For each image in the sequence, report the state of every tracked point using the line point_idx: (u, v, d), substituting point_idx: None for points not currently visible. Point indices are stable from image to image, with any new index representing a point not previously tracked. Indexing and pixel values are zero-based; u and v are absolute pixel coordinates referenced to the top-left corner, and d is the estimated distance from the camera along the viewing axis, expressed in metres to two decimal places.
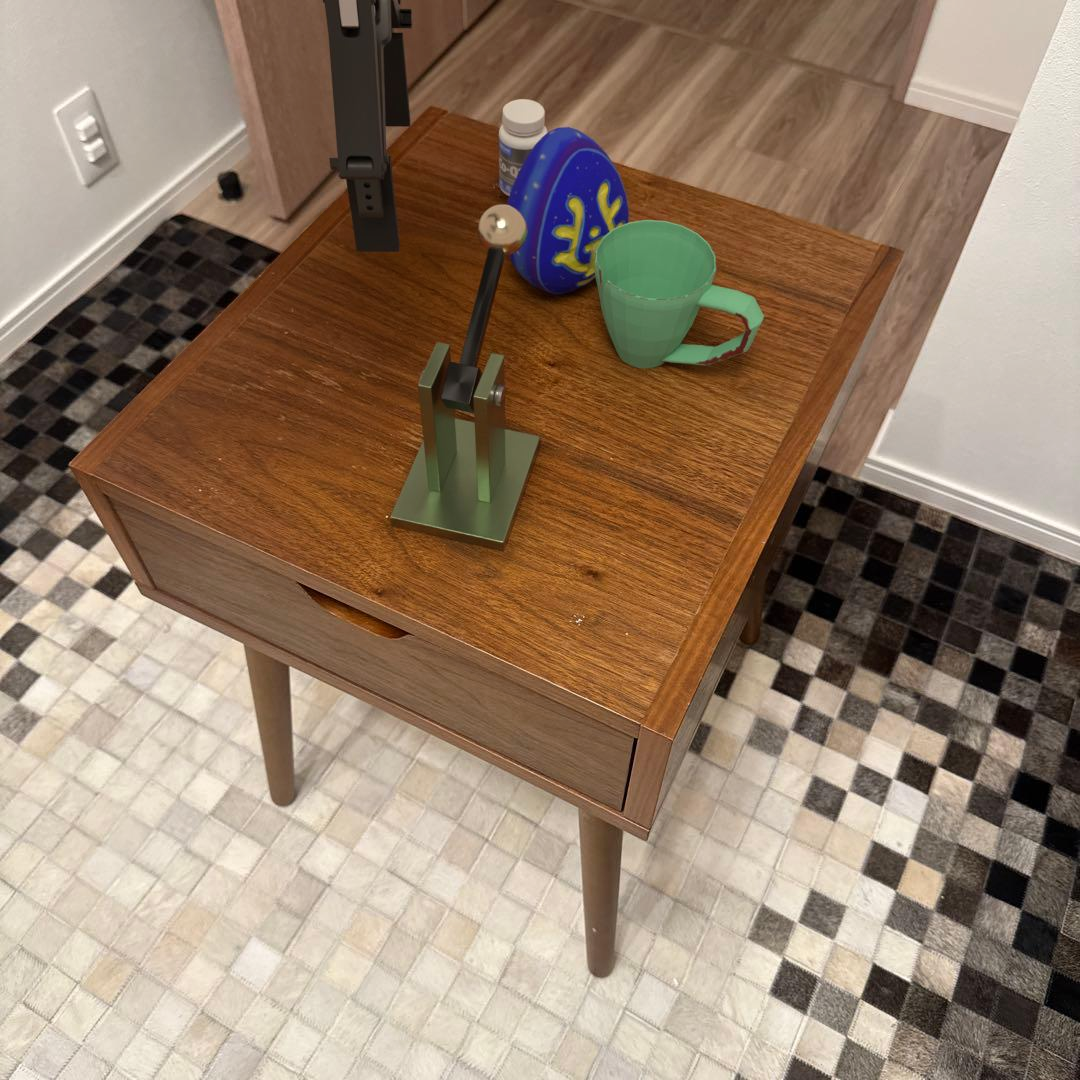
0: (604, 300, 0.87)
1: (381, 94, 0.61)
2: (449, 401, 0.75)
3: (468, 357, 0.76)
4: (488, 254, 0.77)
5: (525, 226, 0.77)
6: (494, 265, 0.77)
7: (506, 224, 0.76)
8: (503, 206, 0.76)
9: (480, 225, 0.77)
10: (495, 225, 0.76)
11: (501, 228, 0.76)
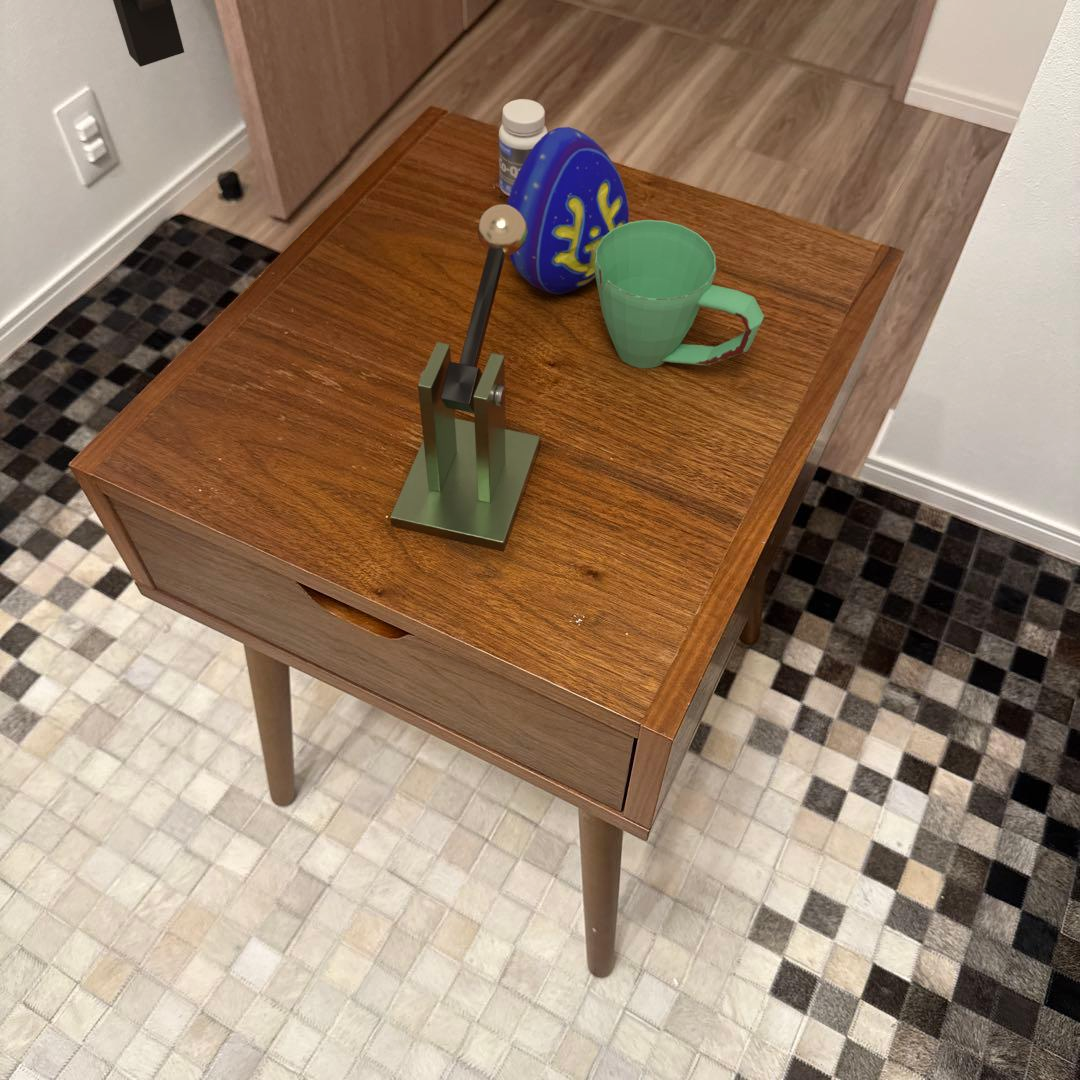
0: (604, 300, 0.87)
1: None
2: (449, 401, 0.75)
3: (468, 357, 0.76)
4: (488, 254, 0.77)
5: (525, 226, 0.77)
6: (494, 265, 0.77)
7: (506, 224, 0.76)
8: (503, 206, 0.76)
9: (480, 225, 0.77)
10: (495, 225, 0.76)
11: (501, 228, 0.76)
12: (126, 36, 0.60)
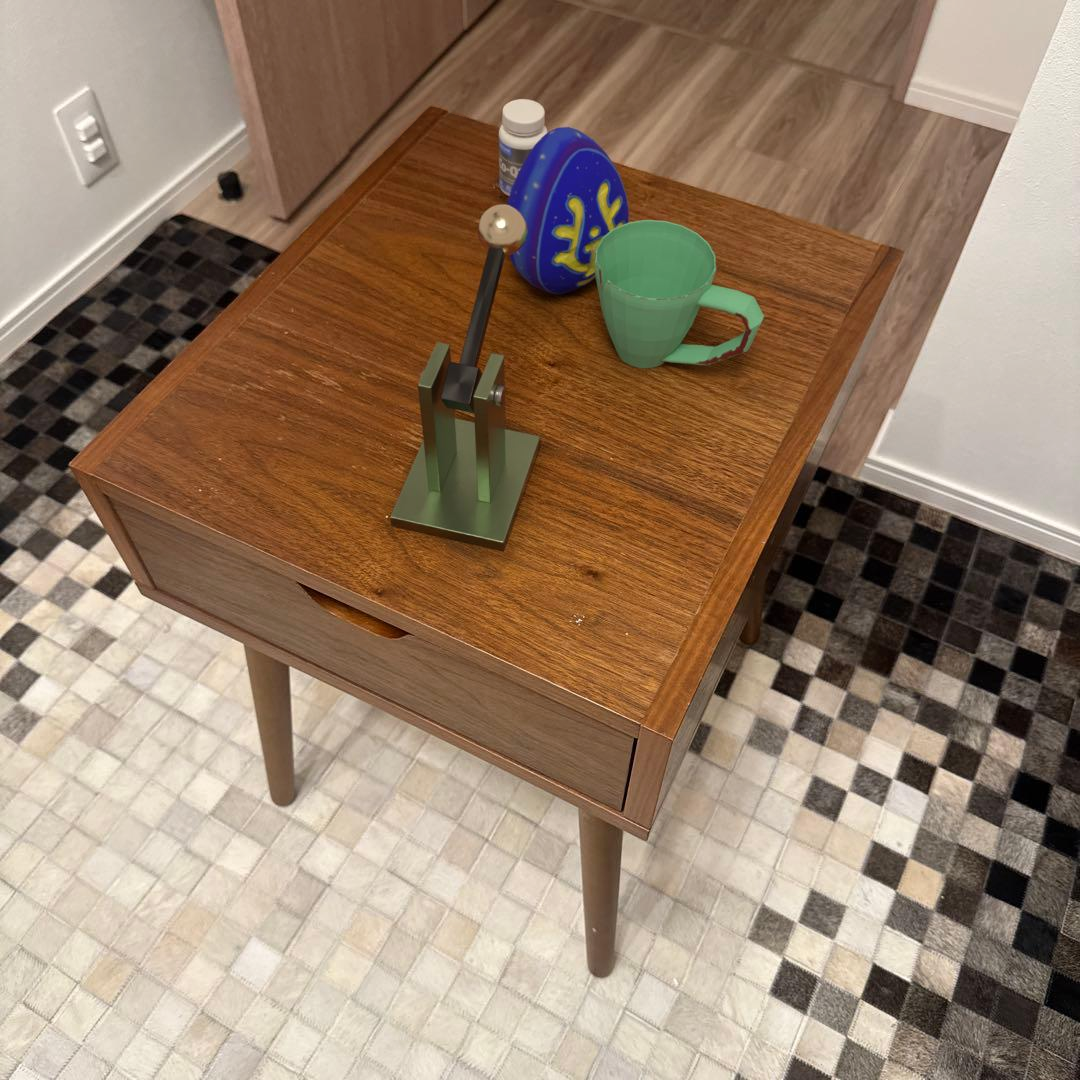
0: (604, 300, 0.87)
1: None
2: (449, 401, 0.75)
3: (468, 357, 0.76)
4: (488, 254, 0.77)
5: (525, 226, 0.77)
6: (494, 265, 0.77)
7: (506, 224, 0.76)
8: (503, 206, 0.76)
9: (480, 225, 0.77)
10: (495, 225, 0.76)
11: (501, 228, 0.76)
12: None
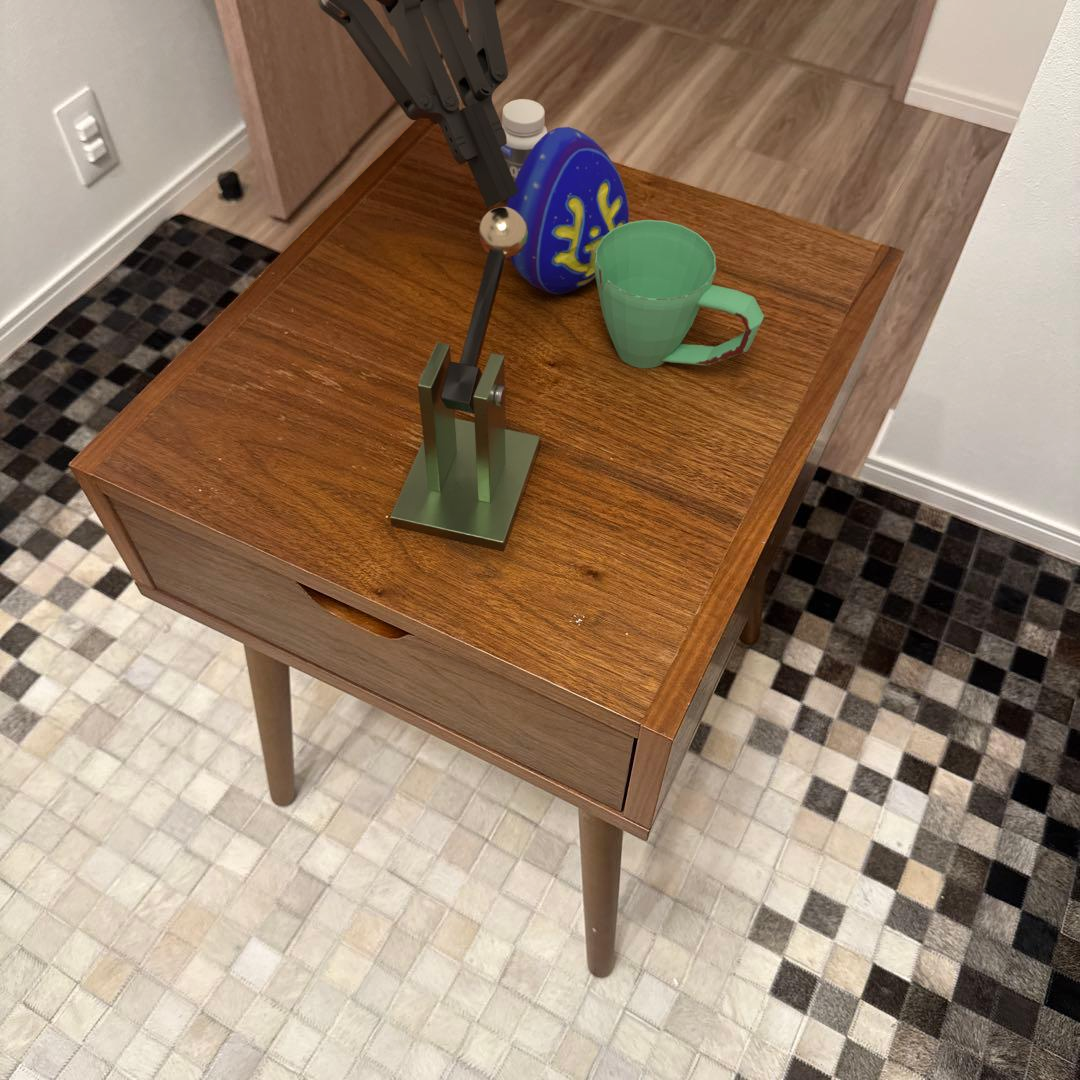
0: (604, 300, 0.87)
1: None
2: (449, 400, 0.75)
3: (468, 357, 0.76)
4: (489, 256, 0.77)
5: (526, 228, 0.77)
6: (494, 266, 0.77)
7: (507, 225, 0.76)
8: (504, 208, 0.77)
9: (481, 227, 0.77)
10: (496, 227, 0.76)
11: (502, 230, 0.76)
12: (500, 178, 0.75)
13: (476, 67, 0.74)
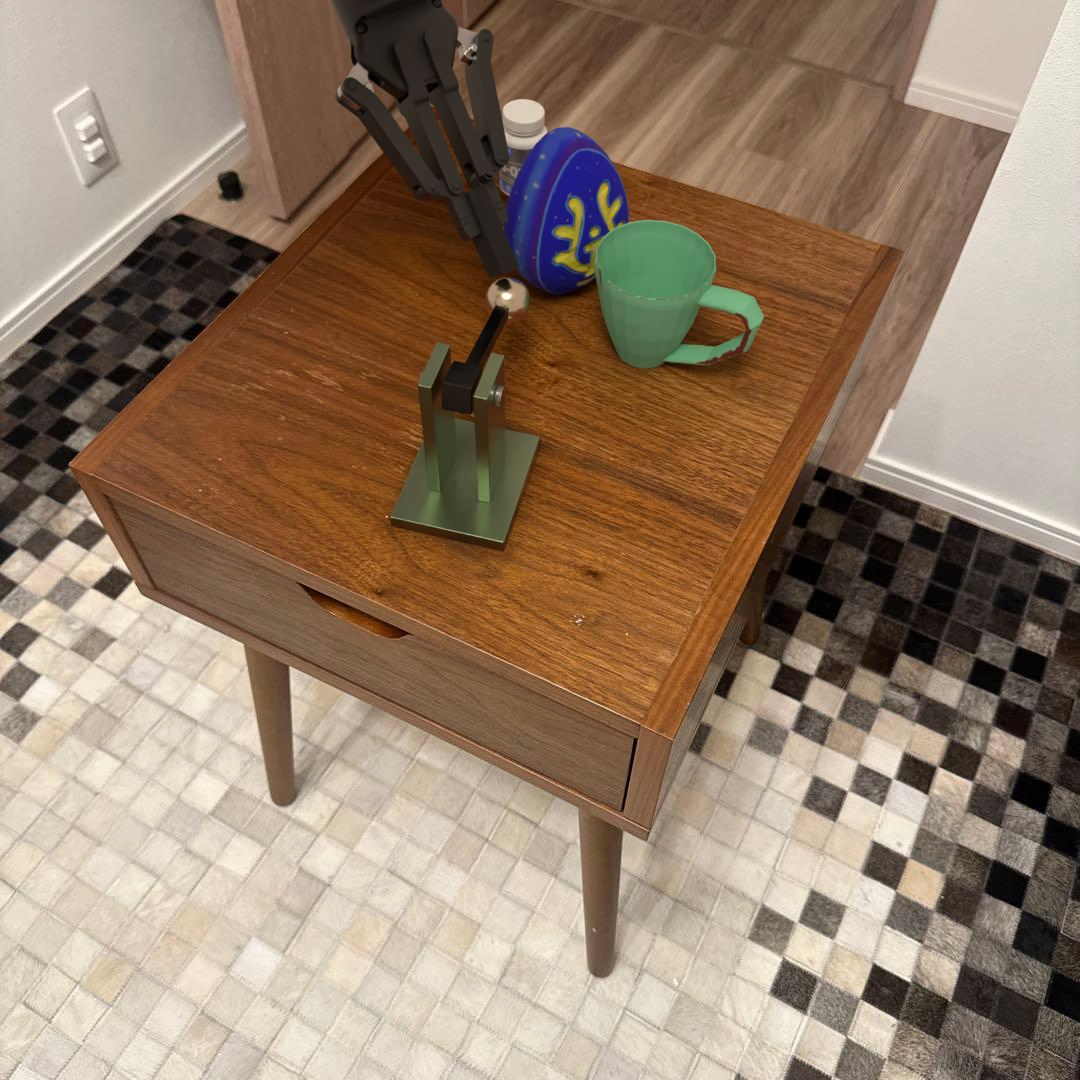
0: (604, 300, 0.87)
1: None
2: (450, 386, 0.75)
3: None
4: (494, 308, 0.83)
5: (529, 297, 0.84)
6: (500, 314, 0.82)
7: (514, 284, 0.83)
8: None
9: (489, 288, 0.84)
10: (505, 284, 0.83)
11: (510, 286, 0.83)
12: (501, 254, 0.81)
13: (480, 153, 0.80)
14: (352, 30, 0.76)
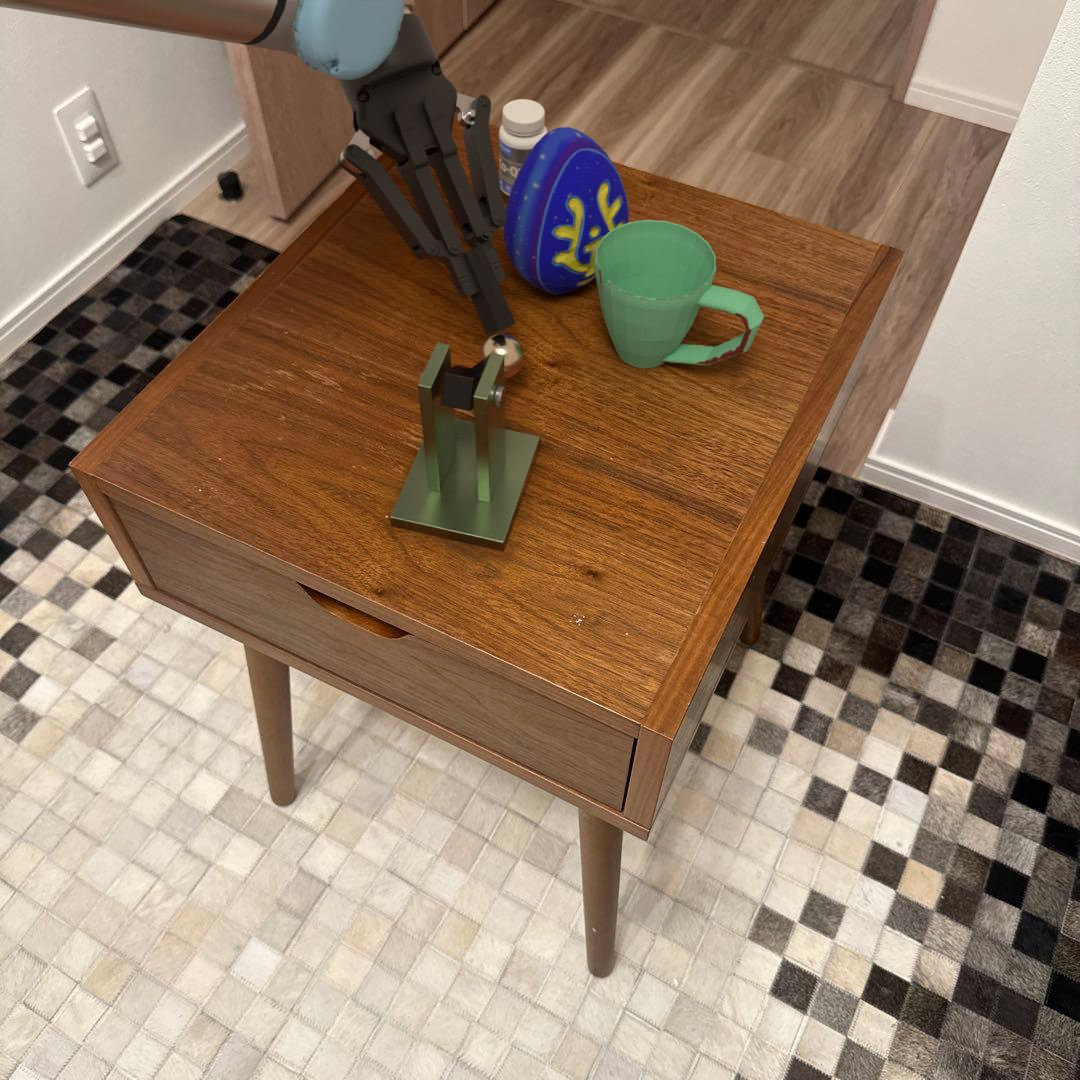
0: (604, 300, 0.87)
1: None
2: (453, 377, 0.75)
3: None
4: None
5: None
6: None
7: (511, 337, 0.86)
8: None
9: (486, 340, 0.87)
10: (502, 335, 0.86)
11: (506, 337, 0.86)
12: (498, 312, 0.84)
13: (478, 214, 0.83)
14: (354, 98, 0.79)
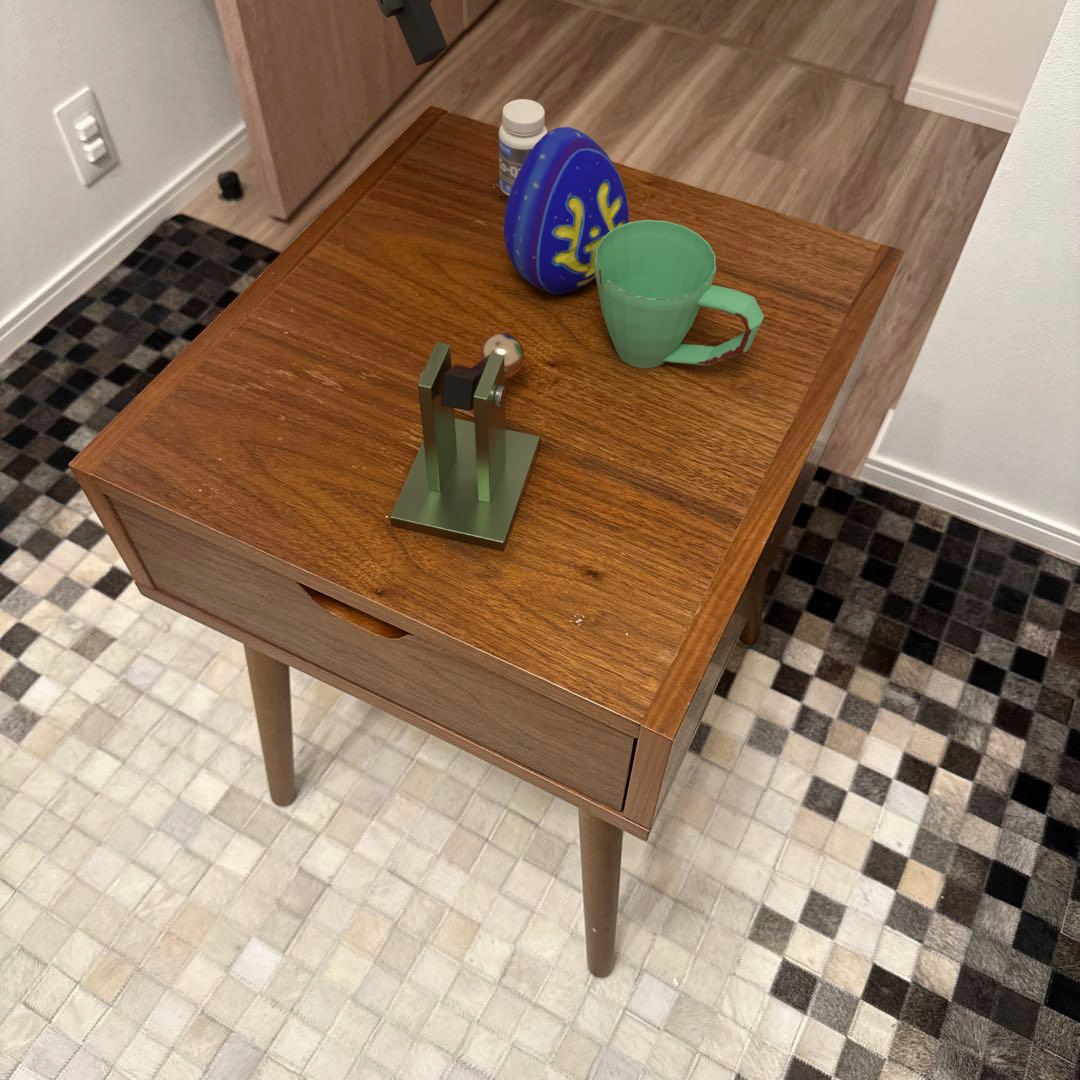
0: (604, 300, 0.87)
1: None
2: (453, 377, 0.75)
3: None
4: None
5: None
6: None
7: (511, 337, 0.86)
8: None
9: (486, 340, 0.87)
10: (502, 335, 0.86)
11: (506, 338, 0.86)
12: (427, 30, 0.72)
13: None
14: None
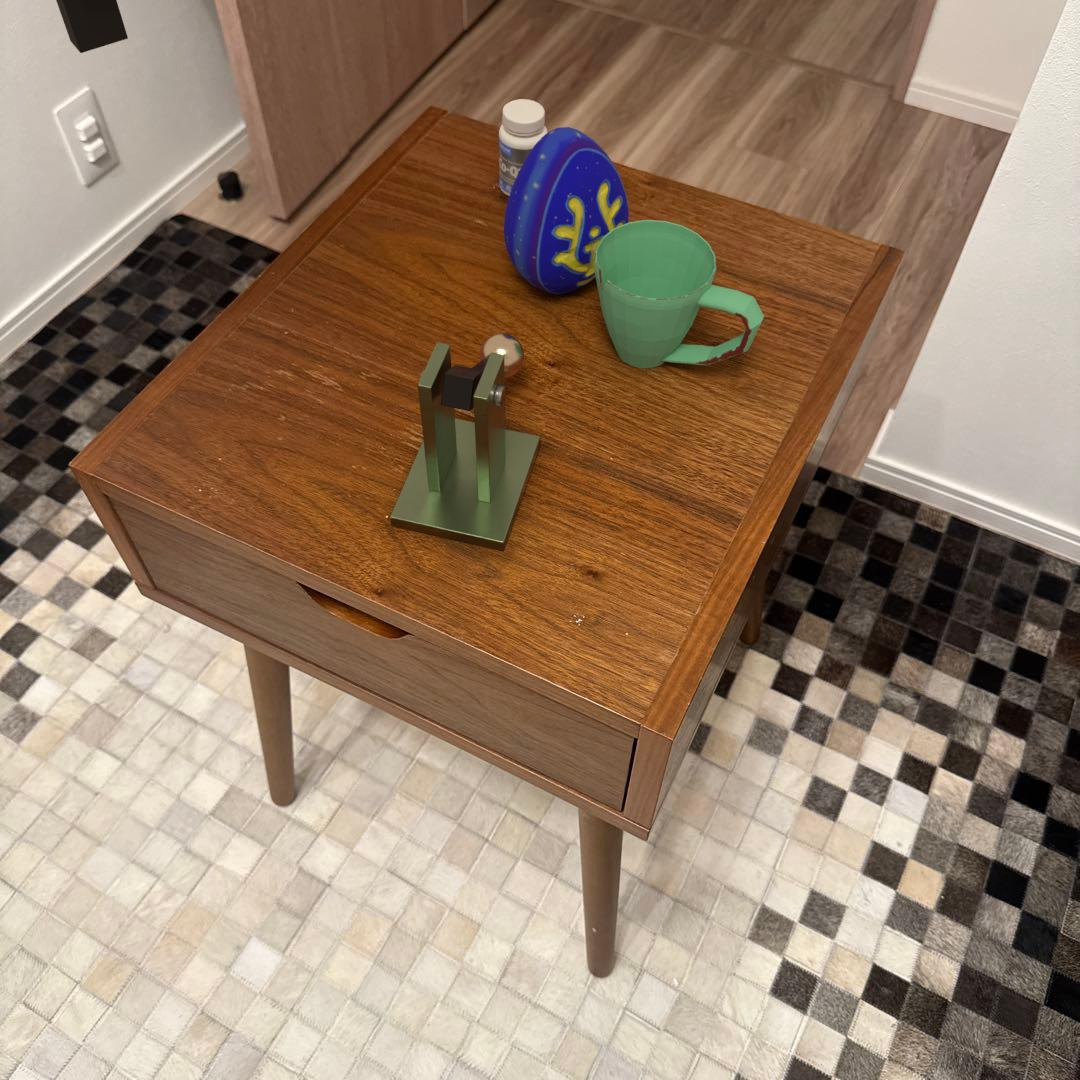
0: (604, 300, 0.87)
1: None
2: (453, 377, 0.75)
3: None
4: None
5: None
6: None
7: (511, 337, 0.86)
8: None
9: (486, 340, 0.87)
10: (502, 335, 0.86)
11: (506, 338, 0.86)
12: (65, 21, 0.57)
13: None
14: None
